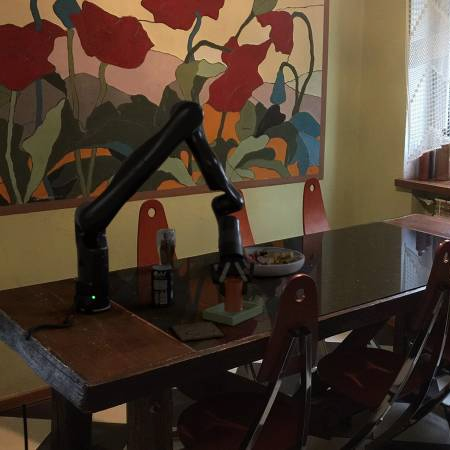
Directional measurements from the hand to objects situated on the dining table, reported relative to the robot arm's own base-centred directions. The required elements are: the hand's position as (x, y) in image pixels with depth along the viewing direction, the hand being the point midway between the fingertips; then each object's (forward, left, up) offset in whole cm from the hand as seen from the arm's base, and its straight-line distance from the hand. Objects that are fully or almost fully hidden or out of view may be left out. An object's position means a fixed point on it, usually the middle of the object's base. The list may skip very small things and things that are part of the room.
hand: (233, 294), depth 215 cm
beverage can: (-3, +26, -7) cm, 27 cm away
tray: (+1, +1, -7) cm, 7 cm away
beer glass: (+29, +53, -7) cm, 61 cm away
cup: (+1, +1, -5) cm, 6 cm away
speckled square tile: (-17, 0, -7) cm, 18 cm away
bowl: (+53, +25, -7) cm, 59 cm away
